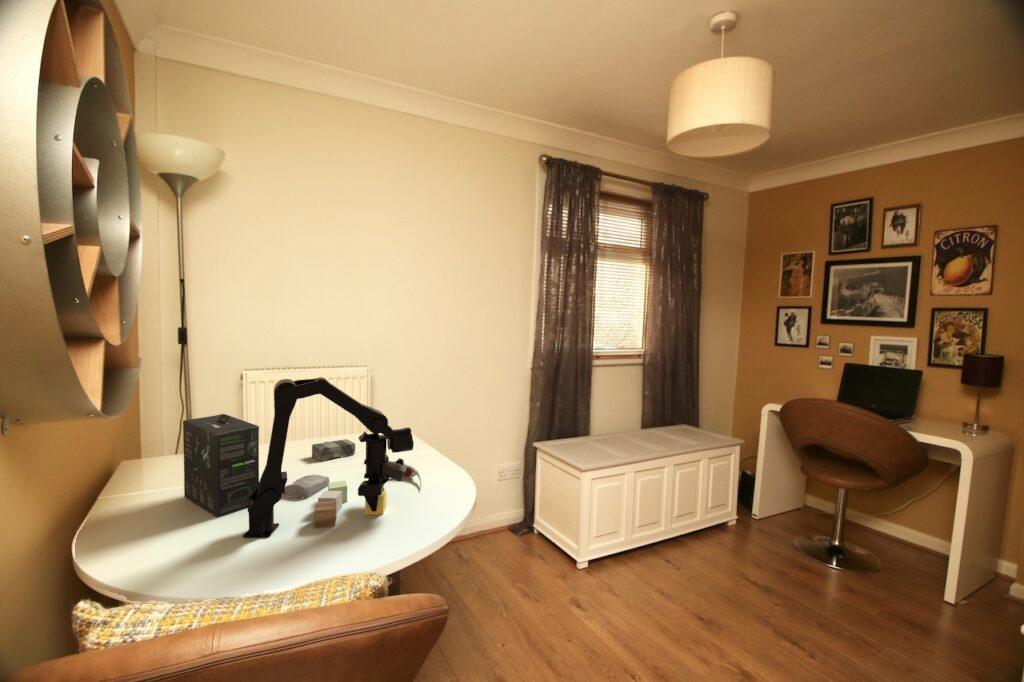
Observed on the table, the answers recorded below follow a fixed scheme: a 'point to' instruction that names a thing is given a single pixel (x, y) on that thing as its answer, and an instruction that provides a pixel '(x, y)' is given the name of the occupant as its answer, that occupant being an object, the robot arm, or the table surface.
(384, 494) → the mustard cube
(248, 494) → the headset box
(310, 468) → the table surface
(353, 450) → the stone block
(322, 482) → the stone block
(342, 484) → the sage cube
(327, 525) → the walnut cube
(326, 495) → the grey cube
